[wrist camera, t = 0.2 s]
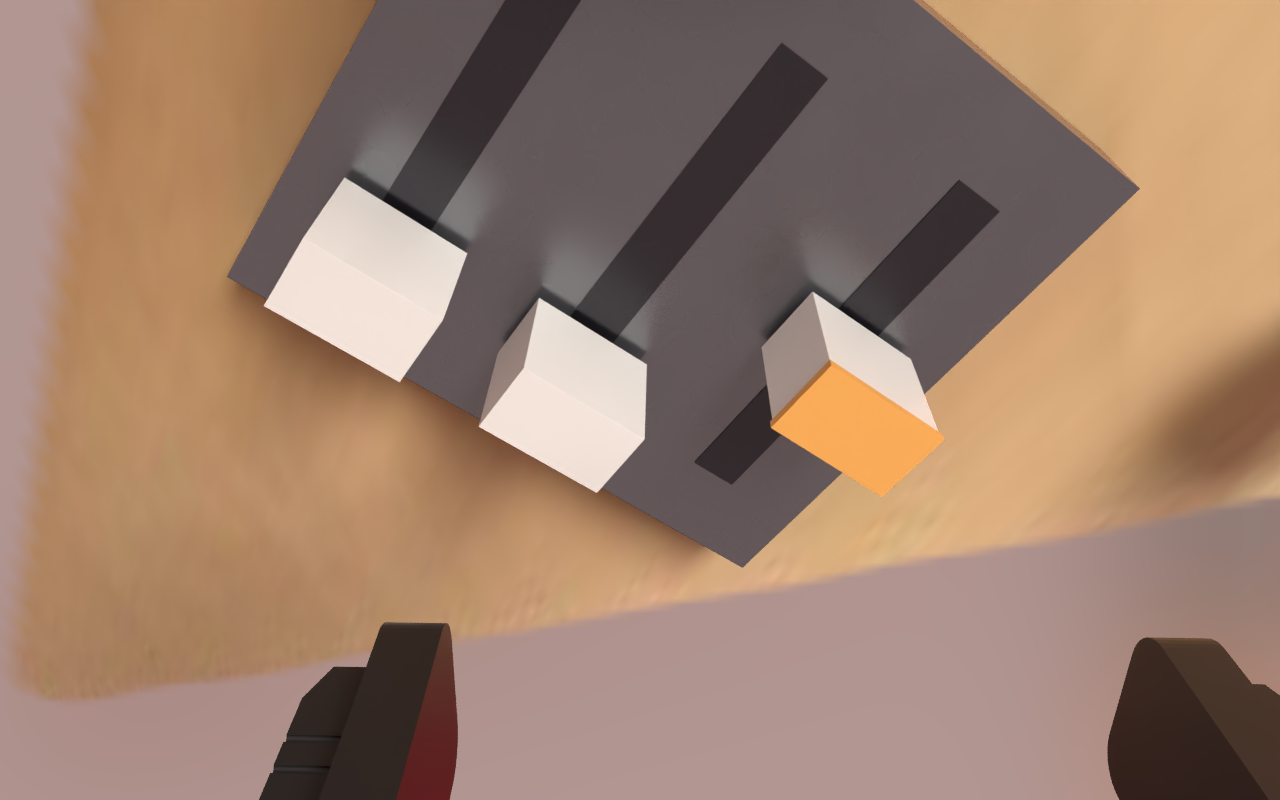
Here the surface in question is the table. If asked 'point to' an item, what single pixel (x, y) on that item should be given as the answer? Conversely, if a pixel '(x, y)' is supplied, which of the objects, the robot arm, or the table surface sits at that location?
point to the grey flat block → (699, 204)
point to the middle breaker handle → (567, 397)
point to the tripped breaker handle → (847, 396)
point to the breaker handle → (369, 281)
